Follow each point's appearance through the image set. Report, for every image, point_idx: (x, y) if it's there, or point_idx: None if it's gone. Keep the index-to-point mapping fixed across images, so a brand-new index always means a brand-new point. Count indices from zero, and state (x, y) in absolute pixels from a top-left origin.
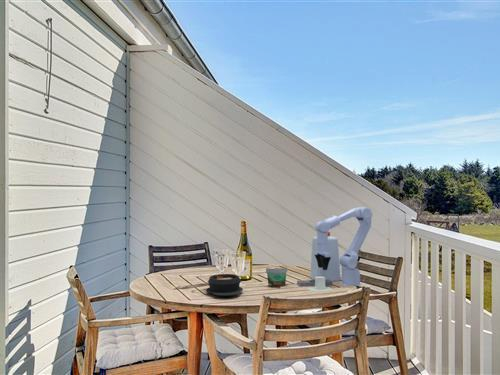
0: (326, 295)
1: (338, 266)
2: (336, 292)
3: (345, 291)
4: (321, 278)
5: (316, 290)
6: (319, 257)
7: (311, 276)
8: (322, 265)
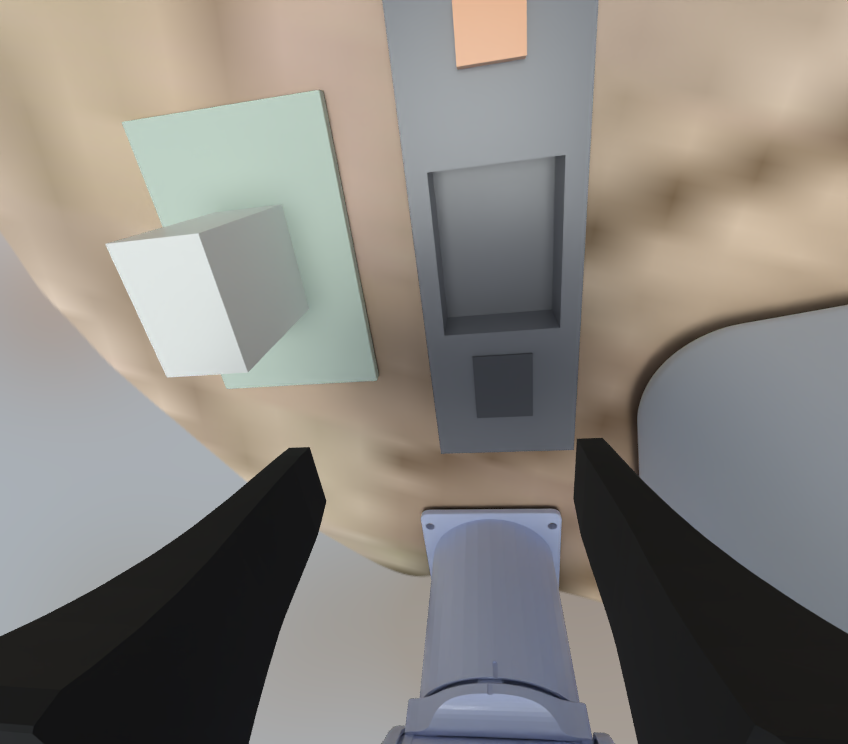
0: (30, 266)
1: None
2: (183, 387)
3: (237, 462)
4: (149, 318)
5: (168, 196)
6: (673, 712)
7: None
8: (238, 501)
